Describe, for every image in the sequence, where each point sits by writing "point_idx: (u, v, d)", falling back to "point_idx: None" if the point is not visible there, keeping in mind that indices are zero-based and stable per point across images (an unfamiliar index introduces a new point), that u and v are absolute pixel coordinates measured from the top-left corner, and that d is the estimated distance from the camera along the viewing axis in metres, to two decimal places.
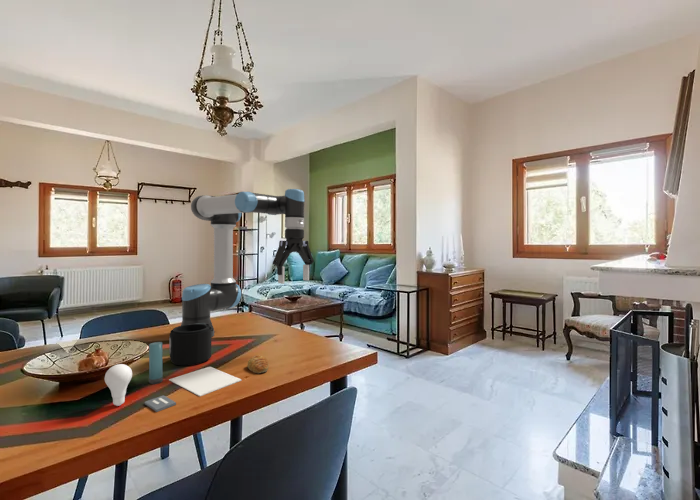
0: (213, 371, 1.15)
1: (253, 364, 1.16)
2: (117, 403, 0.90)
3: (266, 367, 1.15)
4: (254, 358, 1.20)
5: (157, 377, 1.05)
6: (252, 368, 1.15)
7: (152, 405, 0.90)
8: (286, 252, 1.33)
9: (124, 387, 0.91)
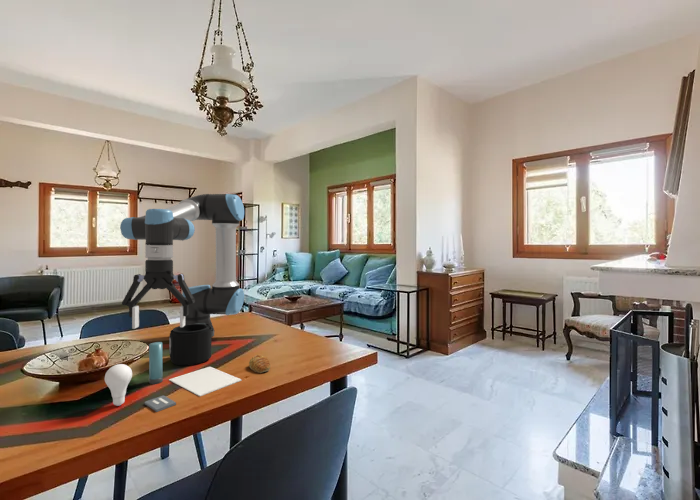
0: (213, 371, 1.15)
1: (255, 364, 1.17)
2: (117, 403, 0.90)
3: (268, 366, 1.16)
4: (256, 358, 1.20)
5: (157, 377, 1.05)
6: (254, 367, 1.16)
7: (152, 405, 0.90)
8: None
9: (124, 387, 0.91)
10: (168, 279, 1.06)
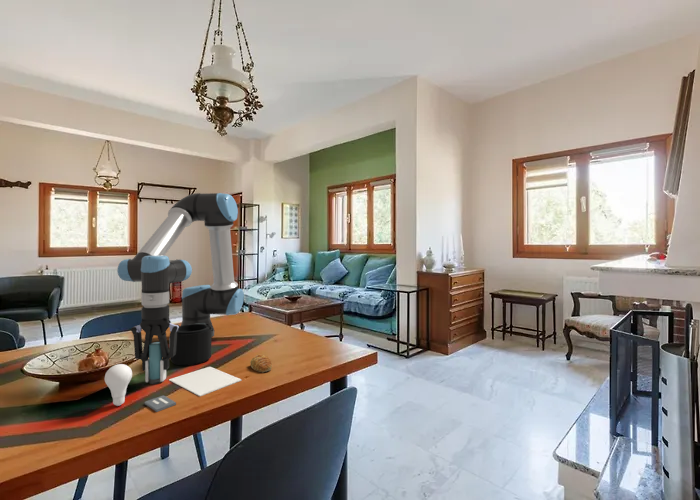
0: (213, 371, 1.15)
1: (257, 363, 1.17)
2: (117, 403, 0.90)
3: (270, 366, 1.16)
4: (257, 357, 1.20)
5: (157, 377, 1.05)
6: (256, 367, 1.16)
7: (152, 405, 0.90)
8: None
9: (124, 387, 0.91)
10: (163, 325, 1.05)
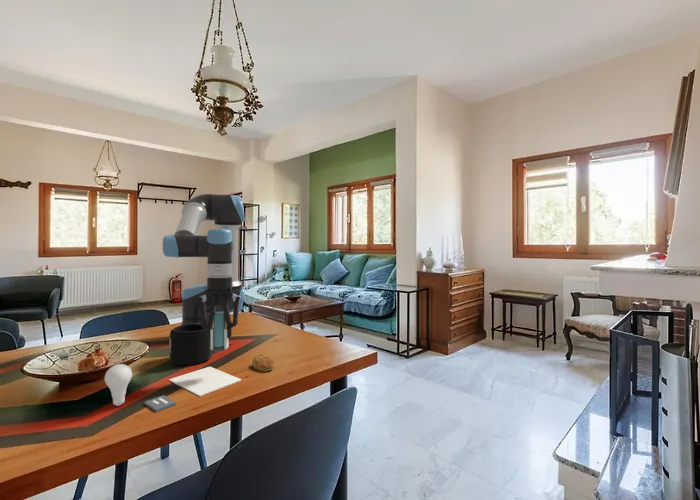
0: (213, 371, 1.15)
1: (259, 363, 1.18)
2: (117, 403, 0.90)
3: (272, 365, 1.17)
4: (259, 357, 1.21)
5: (221, 345, 1.10)
6: (258, 367, 1.17)
7: (152, 405, 0.90)
8: None
9: (124, 387, 0.91)
10: (227, 295, 1.11)
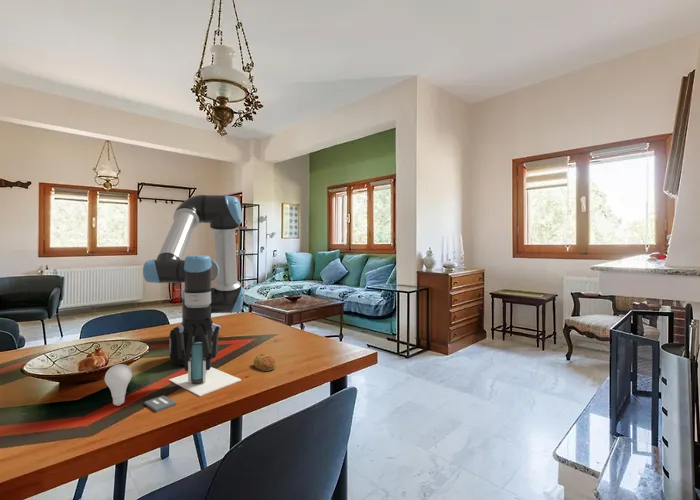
0: (213, 371, 1.15)
1: (261, 362, 1.18)
2: (117, 403, 0.90)
3: (274, 364, 1.18)
4: (260, 356, 1.21)
5: (200, 377, 1.05)
6: (260, 366, 1.17)
7: (152, 405, 0.90)
8: None
9: (124, 387, 0.91)
10: (206, 325, 1.05)
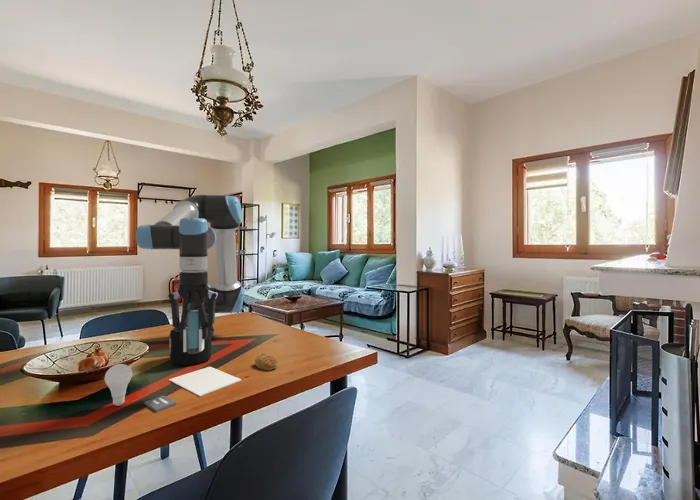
0: (213, 371, 1.15)
1: (262, 362, 1.19)
2: (117, 403, 0.90)
3: (276, 364, 1.18)
4: (261, 356, 1.22)
5: (196, 346, 0.99)
6: (262, 366, 1.18)
7: (152, 405, 0.90)
8: None
9: (124, 387, 0.91)
10: (202, 292, 0.99)
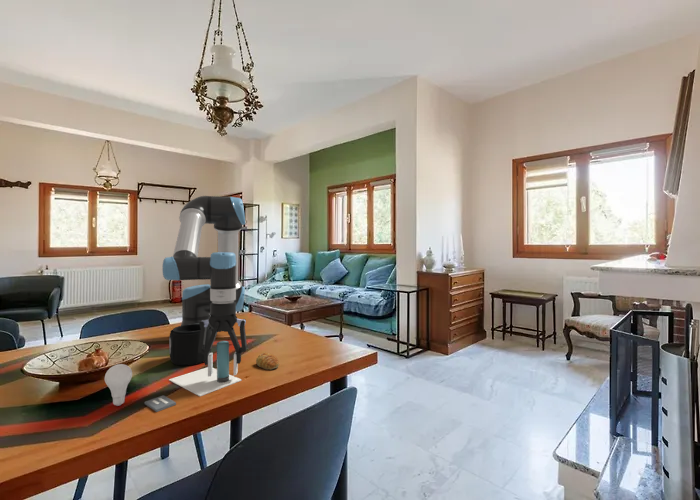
0: (213, 371, 1.15)
1: (264, 361, 1.19)
2: (117, 403, 0.90)
3: (278, 363, 1.19)
4: (263, 355, 1.22)
5: (225, 376, 1.06)
6: (263, 365, 1.18)
7: (152, 405, 0.90)
8: (212, 334, 1.07)
9: (124, 387, 0.91)
10: (231, 321, 1.06)
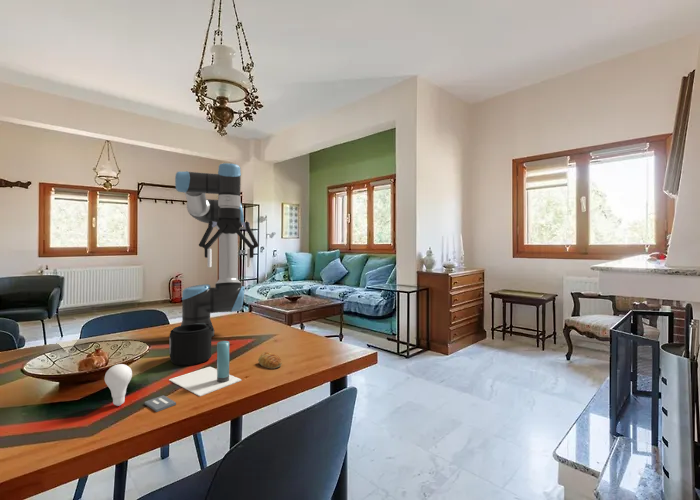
0: (213, 371, 1.15)
1: (267, 360, 1.20)
2: (117, 403, 0.90)
3: (280, 362, 1.20)
4: (265, 355, 1.23)
5: (225, 375, 1.06)
6: (266, 364, 1.19)
7: (152, 405, 0.90)
8: None
9: (124, 387, 0.91)
10: (237, 225, 1.22)
